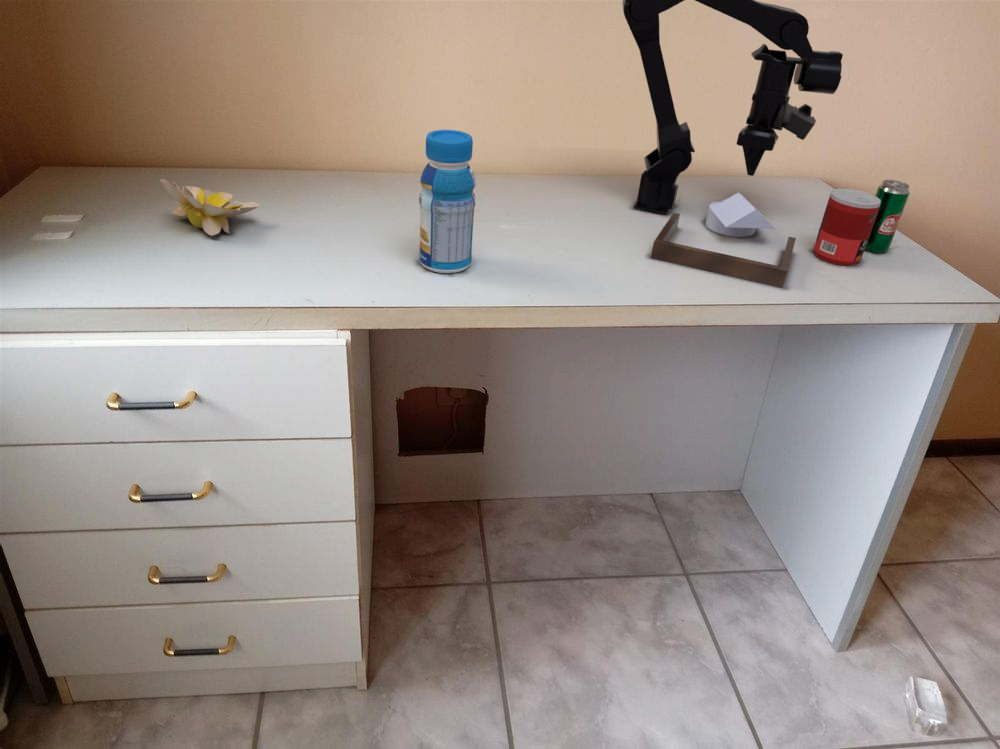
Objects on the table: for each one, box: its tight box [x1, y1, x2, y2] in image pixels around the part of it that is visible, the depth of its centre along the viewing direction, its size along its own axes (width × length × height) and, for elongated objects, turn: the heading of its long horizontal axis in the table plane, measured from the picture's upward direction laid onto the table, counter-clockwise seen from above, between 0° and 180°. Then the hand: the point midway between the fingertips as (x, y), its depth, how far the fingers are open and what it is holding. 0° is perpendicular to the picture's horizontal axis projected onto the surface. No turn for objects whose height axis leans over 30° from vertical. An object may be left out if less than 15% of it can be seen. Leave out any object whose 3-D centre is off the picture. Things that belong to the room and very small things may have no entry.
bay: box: [650, 212, 797, 288], centre depth 132 cm, size 21×15×3 cm
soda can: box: [864, 179, 910, 254], centre depth 137 cm, size 5×5×12 cm
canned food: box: [813, 188, 881, 267], centre depth 132 cm, size 8×8×11 cm
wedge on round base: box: [705, 191, 776, 238], centre depth 140 cm, size 9×7×13 cm
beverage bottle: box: [418, 129, 477, 274], centre depth 117 cm, size 8×8×20 cm
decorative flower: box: [159, 178, 261, 236], centre depth 126 cm, size 15×11×10 cm
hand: (750, 175), depth 145 cm, fingers closed
